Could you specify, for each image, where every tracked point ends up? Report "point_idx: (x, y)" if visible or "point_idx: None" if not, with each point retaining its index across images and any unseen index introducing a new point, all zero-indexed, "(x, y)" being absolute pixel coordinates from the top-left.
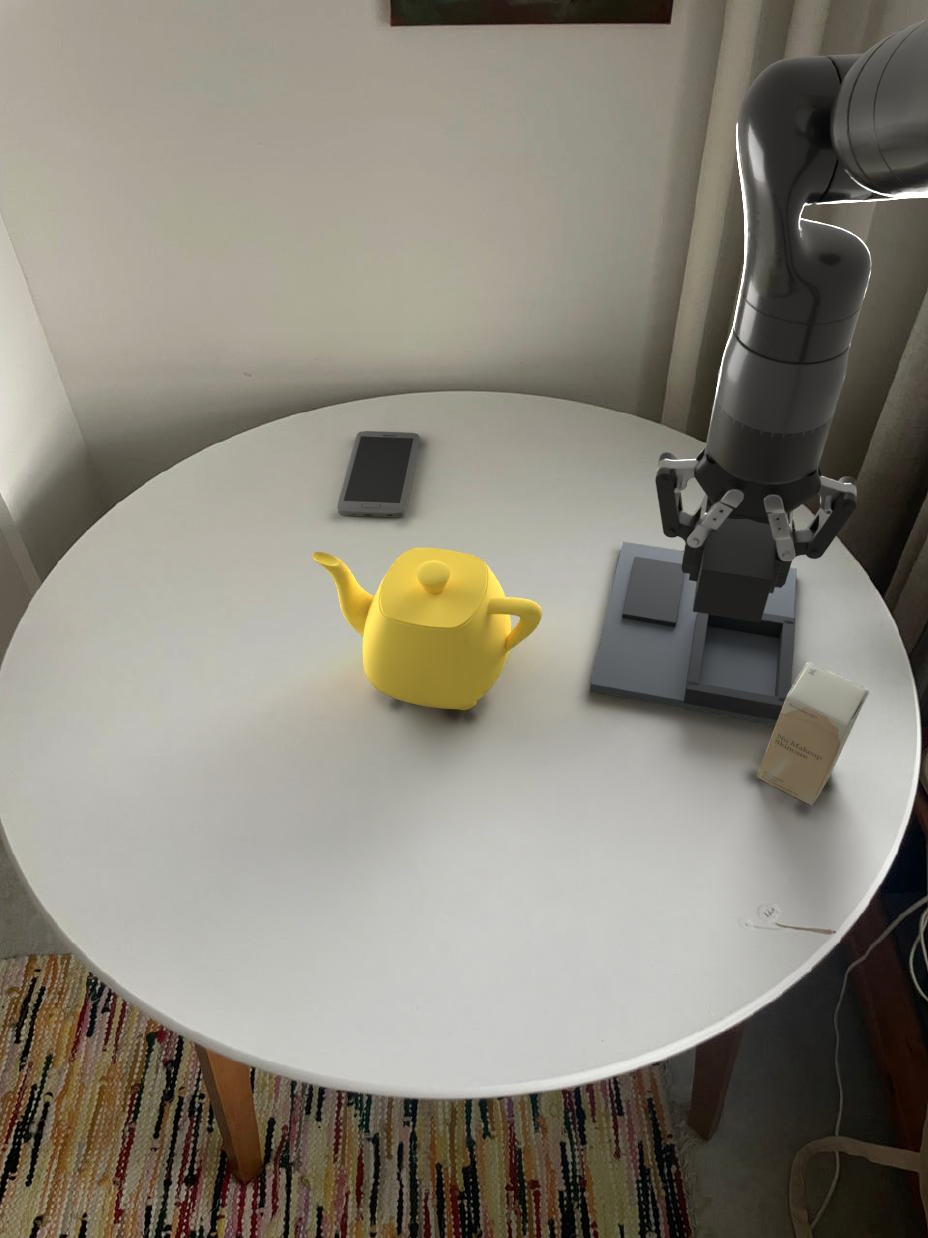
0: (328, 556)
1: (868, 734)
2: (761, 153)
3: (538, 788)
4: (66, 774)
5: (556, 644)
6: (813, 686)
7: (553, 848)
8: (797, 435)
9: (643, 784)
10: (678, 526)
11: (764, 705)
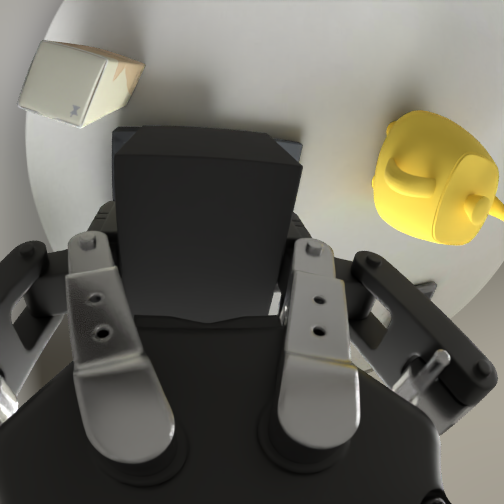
0: None
1: (53, 139)
2: None
3: (343, 42)
4: None
5: (323, 191)
6: (74, 85)
7: None
8: None
9: (253, 44)
10: (369, 273)
11: (136, 130)
